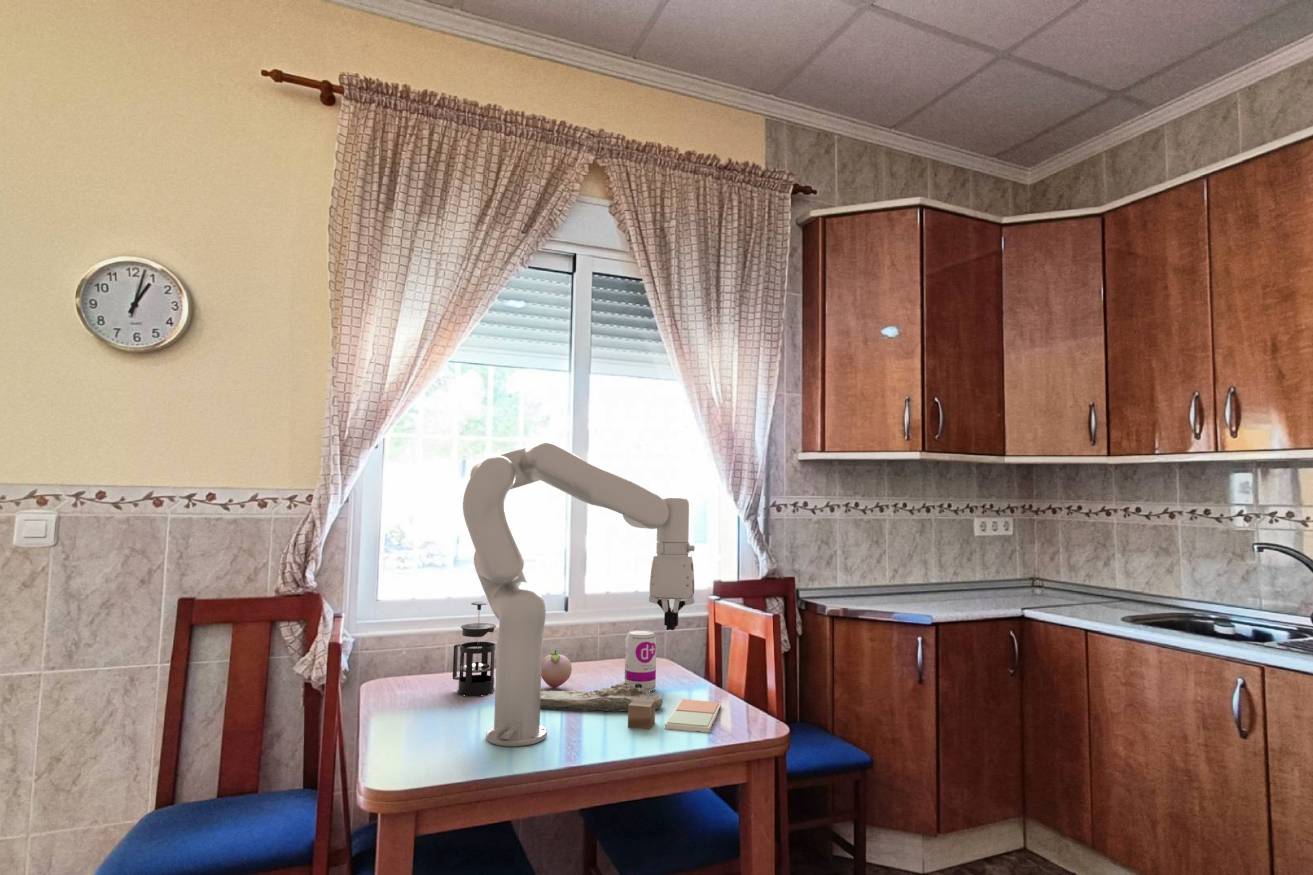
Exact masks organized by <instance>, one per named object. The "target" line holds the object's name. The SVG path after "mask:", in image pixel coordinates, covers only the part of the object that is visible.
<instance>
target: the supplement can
mask: <svg viewBox="0 0 1313 875" xmlns="http://www.w3.org/2000/svg"><path fill="white" fill-rule="evenodd" d="M624 648H625V650H624V651H625V653H624V654H625V655H624V656H625V657H624V658H625V659H624V660H625V661H624V663H625V664H624V683H625V682H626V683H627V685H630V686H631V685H634V686H635V687H636V688H643V689H646V690H648V691H652V690H653V691H654V690H655V689H656V688H657V686H656V683H657V682H656V681H657V680H656V677H657V675H656V674H657V637H656V635H655V632H654V631H651V630H644V629H643V630H642V629H638V630H637V629H636V630H631V631H628V632H627V635H626V637H625V647H624ZM653 691H652V692H653Z"/></svg>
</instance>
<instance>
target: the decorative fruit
mask: <svg viewBox="0 0 1313 875" xmlns="http://www.w3.org/2000/svg"><path fill="white" fill-rule="evenodd" d="M572 671H573V667H572V663H571V660H570V659H569V658H568V657H567V656H566V655H563V654H560V653H558V652H557V650H554V652H550V653H549V654H548V655H546V656H545V657H543V658H542V668H541V680H543V682H545V684H546V685H547V686H548V687H550V688H552V689H553V690H554V689H556V688H558V687H560V686H563V684H565V683H566V682H567V681H568V680H569V678H570V677H571V675H572Z"/></svg>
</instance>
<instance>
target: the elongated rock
mask: <svg viewBox="0 0 1313 875" xmlns="http://www.w3.org/2000/svg"><path fill="white" fill-rule="evenodd" d="M634 699H639V700H652V701H655V710H656V709H657V710H658V709H661V707H662V706H663V697H662V696H661V695H660V694H657V693H654V692H653V691H652V692H649V691H648V690H646V689H643V688H636V687H635V686H634V685H631V686H630V685H627V683H626V682H625V681H624V682H619V683H616V684H614V685H613V684H612V685H611V686H610V687H602V688H601V689H598V690H597V689H596V690H590V691H586V690H569V691H568V690H567V691H566V690H565V691H564V690H541V699H540V709H549V710H557V711H563V710H564V711H567V710H568V711H573V712H574V711H576V712H577V711H579V712H590V711H593V712H594V711H606V712H628V705H629V704H630V703H631V702H632V701H633V700H634Z"/></svg>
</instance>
